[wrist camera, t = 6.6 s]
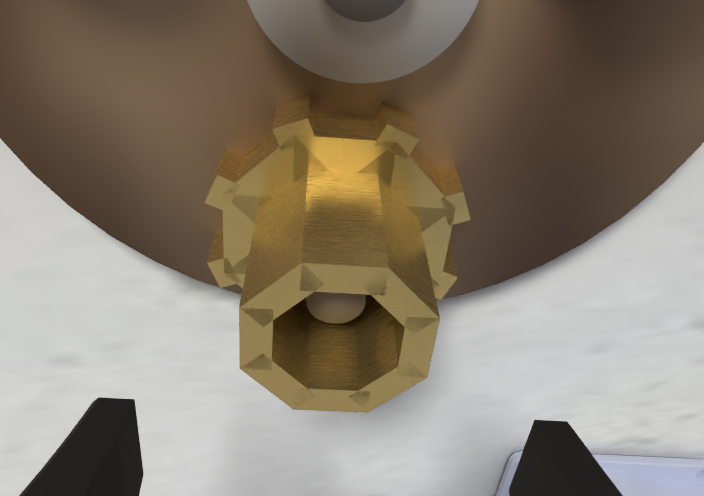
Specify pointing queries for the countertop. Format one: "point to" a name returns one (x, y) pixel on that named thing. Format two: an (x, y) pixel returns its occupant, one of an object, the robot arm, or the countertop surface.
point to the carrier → (357, 110)
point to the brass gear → (336, 253)
